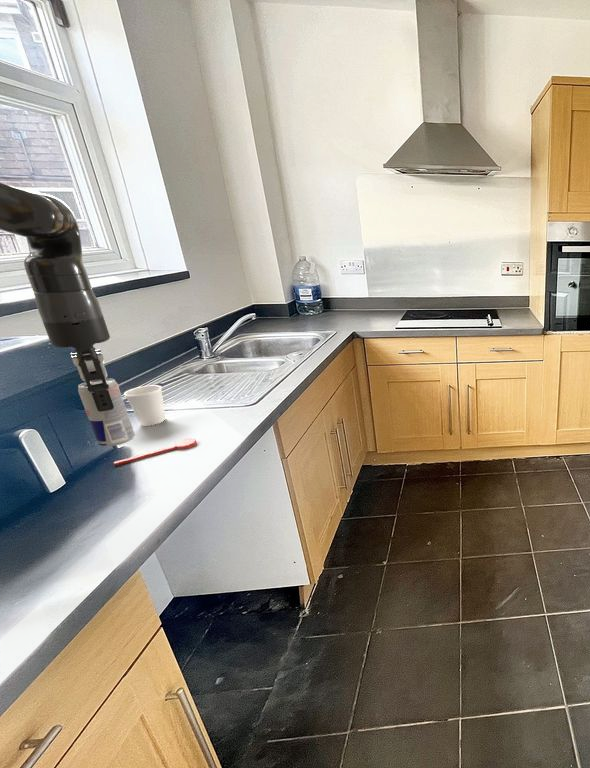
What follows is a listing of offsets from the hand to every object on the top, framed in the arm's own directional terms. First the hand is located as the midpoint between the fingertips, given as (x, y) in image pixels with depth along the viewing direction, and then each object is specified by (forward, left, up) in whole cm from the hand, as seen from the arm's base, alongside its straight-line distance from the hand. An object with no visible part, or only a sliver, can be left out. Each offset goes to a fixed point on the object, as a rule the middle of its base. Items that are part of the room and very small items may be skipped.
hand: (104, 405), depth 78 cm
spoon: (-6, +22, -21) cm, 31 cm away
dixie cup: (-16, +45, -21) cm, 52 cm away
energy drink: (0, 0, -8) cm, 8 cm away
